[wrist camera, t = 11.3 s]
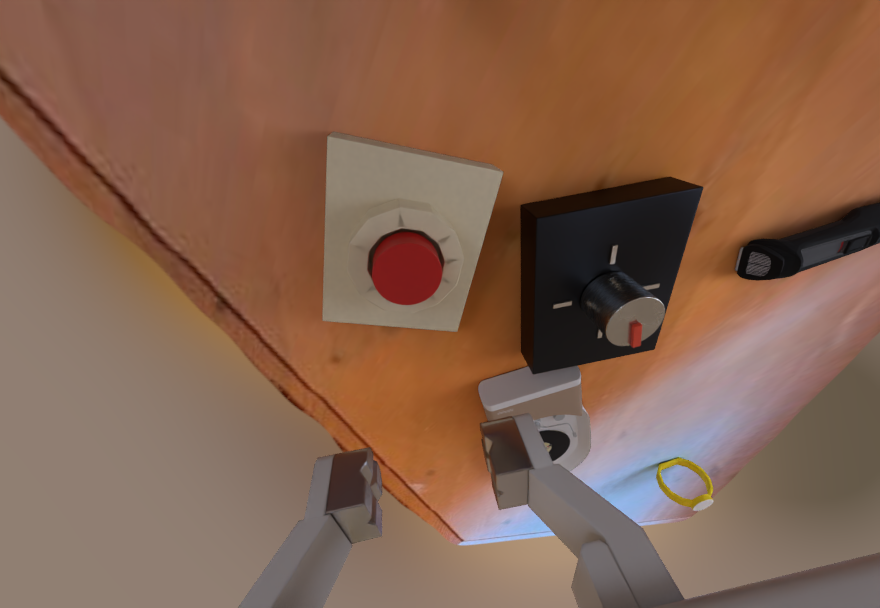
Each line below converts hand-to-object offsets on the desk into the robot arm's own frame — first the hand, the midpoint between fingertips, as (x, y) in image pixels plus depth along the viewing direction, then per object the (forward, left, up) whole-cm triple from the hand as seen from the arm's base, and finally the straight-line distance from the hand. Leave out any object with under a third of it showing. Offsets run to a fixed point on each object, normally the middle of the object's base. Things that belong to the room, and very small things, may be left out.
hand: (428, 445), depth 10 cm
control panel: (+6, +14, -16) cm, 22 cm away
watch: (+40, +30, -16) cm, 53 cm away
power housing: (0, 0, -16) cm, 16 cm away
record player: (+25, +10, -16) cm, 31 cm away
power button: (0, 0, -12) cm, 12 cm away
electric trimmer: (+6, +35, -16) cm, 39 cm away
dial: (+6, +14, -13) cm, 20 cm away
